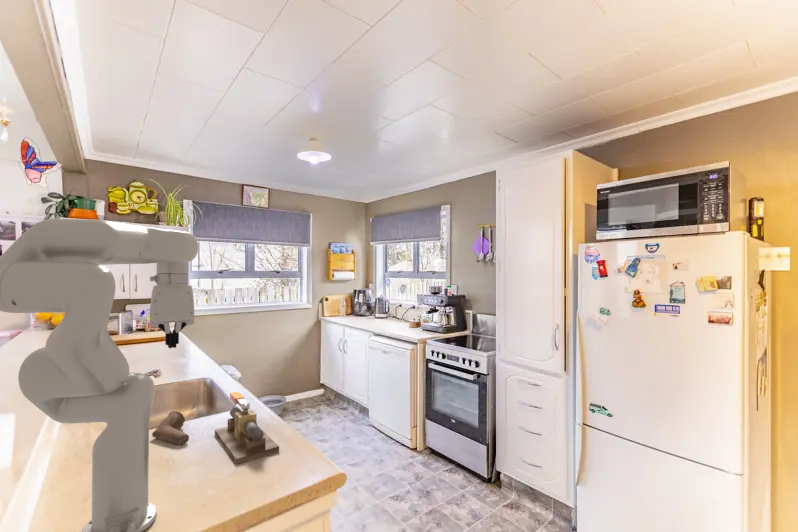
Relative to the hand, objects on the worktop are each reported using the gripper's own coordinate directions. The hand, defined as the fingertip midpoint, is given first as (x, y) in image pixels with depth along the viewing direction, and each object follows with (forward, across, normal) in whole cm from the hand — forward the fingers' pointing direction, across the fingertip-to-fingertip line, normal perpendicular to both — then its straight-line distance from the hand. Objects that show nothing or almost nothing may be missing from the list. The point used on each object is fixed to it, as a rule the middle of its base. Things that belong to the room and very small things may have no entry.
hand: (172, 347), depth 104 cm
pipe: (+33, +4, +19) cm, 38 cm away
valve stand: (+32, +20, +1) cm, 38 cm away
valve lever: (+22, +20, +7) cm, 31 cm away
